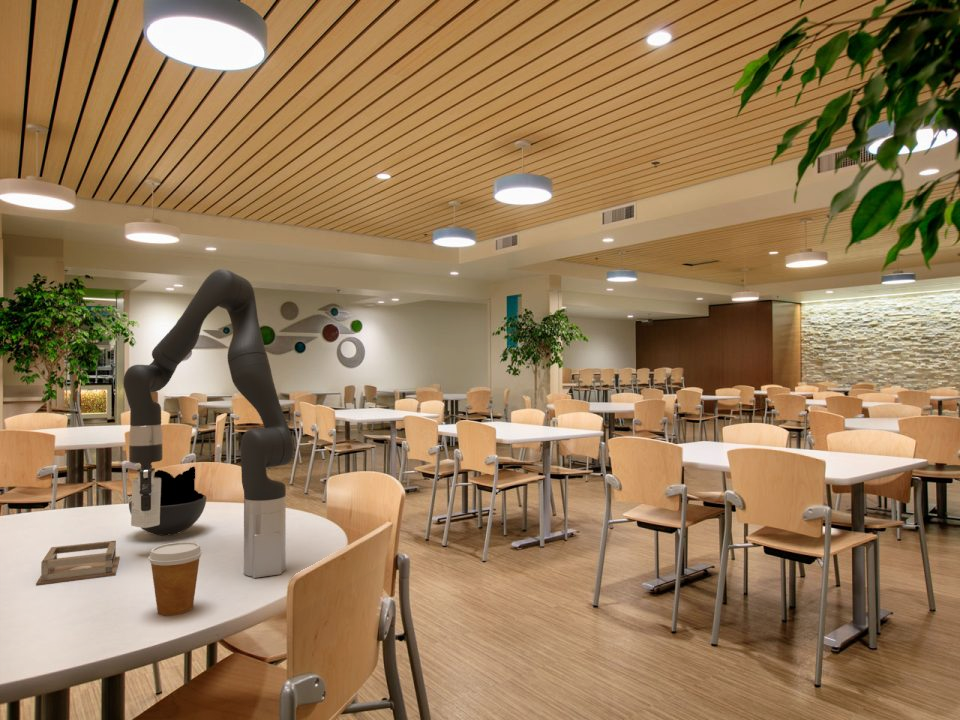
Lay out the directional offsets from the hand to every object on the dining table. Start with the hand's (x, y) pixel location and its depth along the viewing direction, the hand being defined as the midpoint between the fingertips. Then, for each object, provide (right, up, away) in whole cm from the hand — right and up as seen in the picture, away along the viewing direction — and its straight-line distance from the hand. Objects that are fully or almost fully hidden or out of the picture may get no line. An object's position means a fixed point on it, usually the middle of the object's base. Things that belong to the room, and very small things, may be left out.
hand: (146, 508), depth 161 cm
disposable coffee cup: (+25, -11, -37) cm, 46 cm away
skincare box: (0, -5, 0) cm, 5 cm away
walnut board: (-9, -12, -13) cm, 19 cm away
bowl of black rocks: (-4, -13, +20) cm, 24 cm away
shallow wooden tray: (-9, -12, -13) cm, 19 cm away
